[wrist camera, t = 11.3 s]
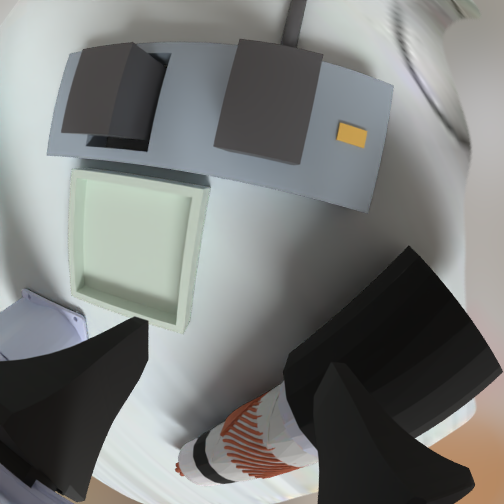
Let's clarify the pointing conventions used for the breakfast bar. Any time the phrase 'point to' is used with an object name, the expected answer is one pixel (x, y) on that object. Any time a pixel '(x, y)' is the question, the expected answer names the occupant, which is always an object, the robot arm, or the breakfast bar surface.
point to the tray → (135, 244)
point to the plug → (114, 93)
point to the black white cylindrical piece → (365, 369)
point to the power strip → (203, 116)
